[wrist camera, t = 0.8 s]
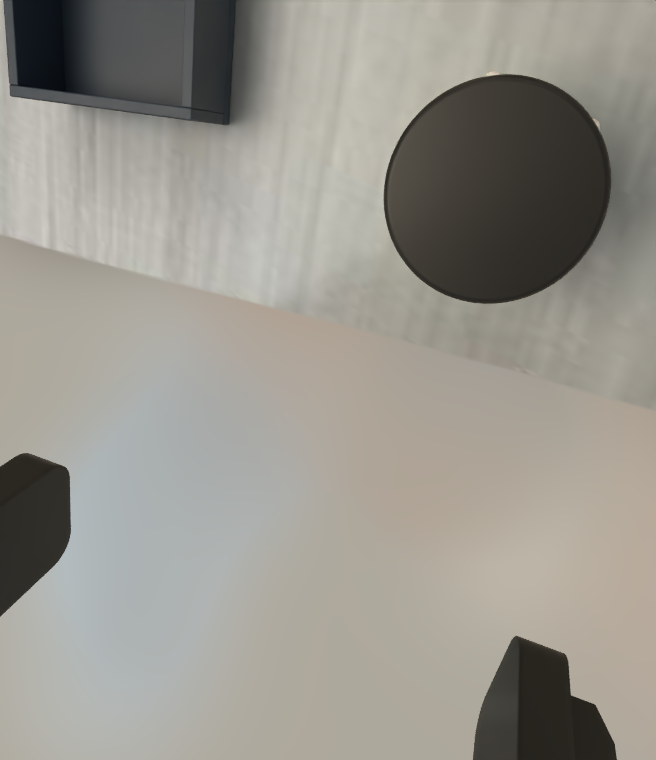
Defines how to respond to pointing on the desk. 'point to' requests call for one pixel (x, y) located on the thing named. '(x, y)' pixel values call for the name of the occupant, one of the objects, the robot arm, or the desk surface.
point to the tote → (124, 55)
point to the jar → (497, 188)
